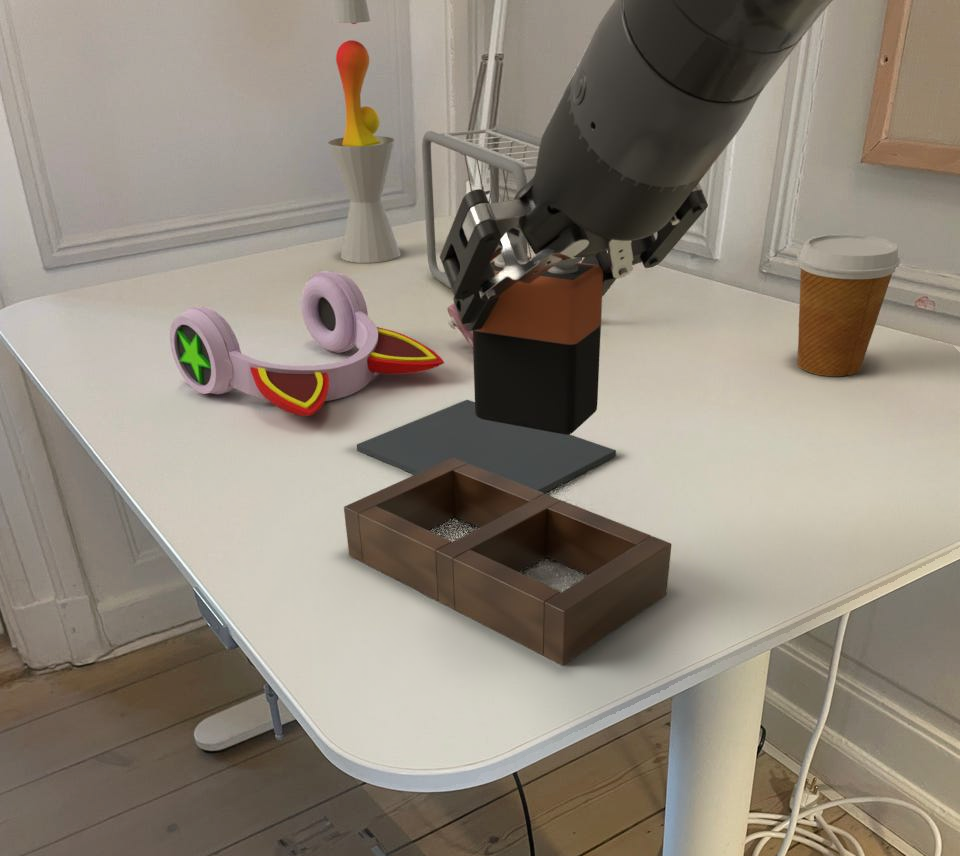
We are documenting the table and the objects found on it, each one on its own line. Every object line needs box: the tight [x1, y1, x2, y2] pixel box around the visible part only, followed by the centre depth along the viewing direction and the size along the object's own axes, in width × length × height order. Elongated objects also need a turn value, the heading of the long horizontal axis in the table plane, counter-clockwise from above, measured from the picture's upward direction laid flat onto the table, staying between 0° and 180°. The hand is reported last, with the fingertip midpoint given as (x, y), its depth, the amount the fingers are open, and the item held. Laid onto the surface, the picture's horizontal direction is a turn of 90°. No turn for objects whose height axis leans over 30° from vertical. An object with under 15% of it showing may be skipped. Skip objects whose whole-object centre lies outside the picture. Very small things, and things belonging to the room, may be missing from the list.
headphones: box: [169, 270, 445, 417], centre depth 100 cm, size 20×10×20 cm
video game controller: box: [446, 302, 473, 349], centre depth 107 cm, size 10×5×7 cm, turn 23°
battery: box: [472, 254, 603, 435], centre depth 60 cm, size 4×7×10 cm, turn 62°
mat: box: [356, 399, 617, 494], centre depth 87 cm, size 18×14×1 cm
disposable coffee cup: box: [796, 233, 901, 377], centre depth 100 cm, size 10×10×12 cm
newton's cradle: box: [421, 124, 542, 290], centre depth 120 cm, size 30×10×18 cm, turn 23°
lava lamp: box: [327, 0, 401, 264], centre depth 135 cm, size 9×9×35 cm
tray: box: [343, 458, 673, 666], centre depth 69 cm, size 20×11×4 cm, turn 46°
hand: (525, 306), depth 60 cm, fingers closed on battery, 7 cm apart
